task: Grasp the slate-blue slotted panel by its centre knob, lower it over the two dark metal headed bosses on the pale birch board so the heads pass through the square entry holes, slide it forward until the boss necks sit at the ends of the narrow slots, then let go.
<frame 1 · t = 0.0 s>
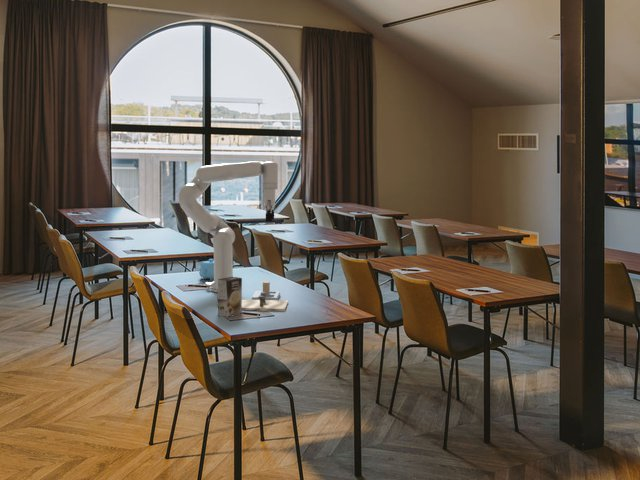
hand: (270, 220, 357), 37 cm above the table, tool pointing down, fingers open, 9 cm apart
coffee box: (229, 314, 309), on the table
panel: (266, 298, 345), on the table
teapot: (212, 279, 394), on the table
board: (262, 306, 326), on the table
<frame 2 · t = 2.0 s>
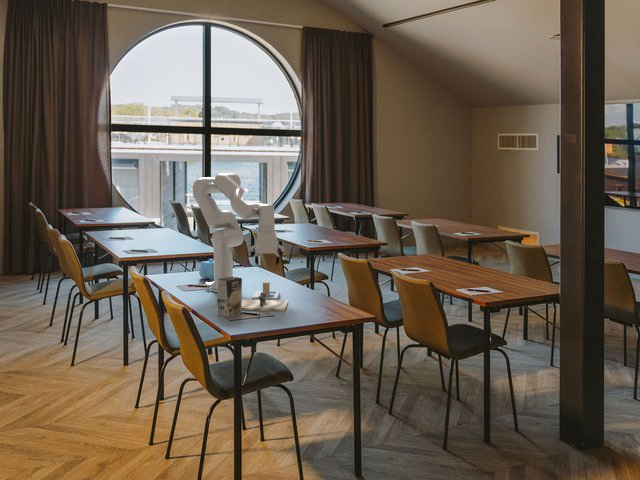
hand: (267, 264, 342), 17 cm above the table, tool pointing down, fingers open, 9 cm apart
nothing on the table moved.
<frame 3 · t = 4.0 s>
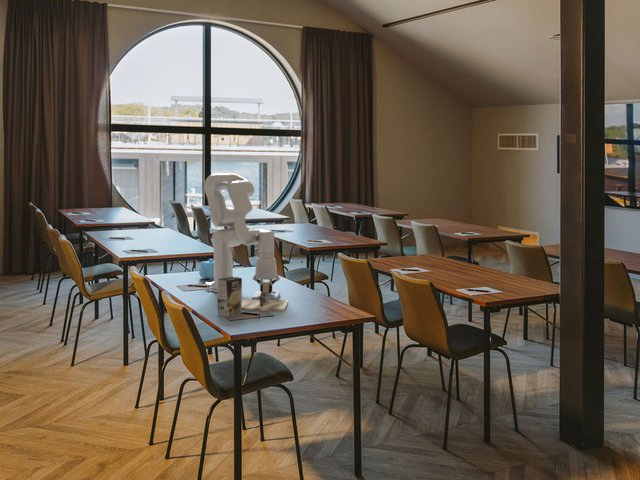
hand: (266, 292, 344), 3 cm above the table, tool pointing down, fingers closed on panel, 3 cm apart
panel: (266, 298, 345), on the table, touching gripper
everything else where it was.
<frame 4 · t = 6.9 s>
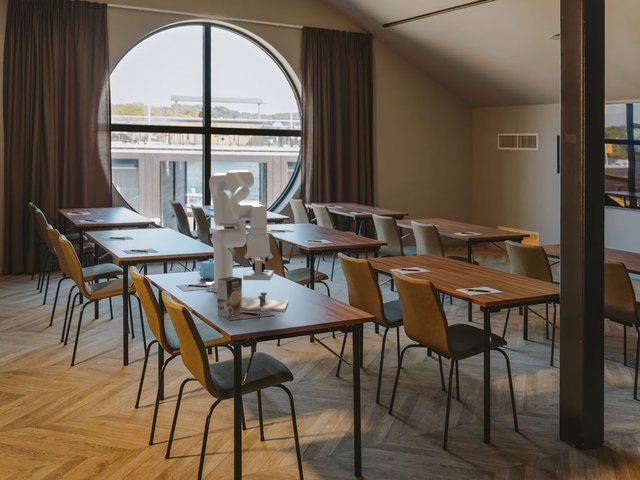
hand: (258, 271, 323), 16 cm above the table, tool pointing down, fingers closed on panel, 3 cm apart
panel: (258, 277, 324), point 14 cm above the table, touching gripper
everything else where it was.
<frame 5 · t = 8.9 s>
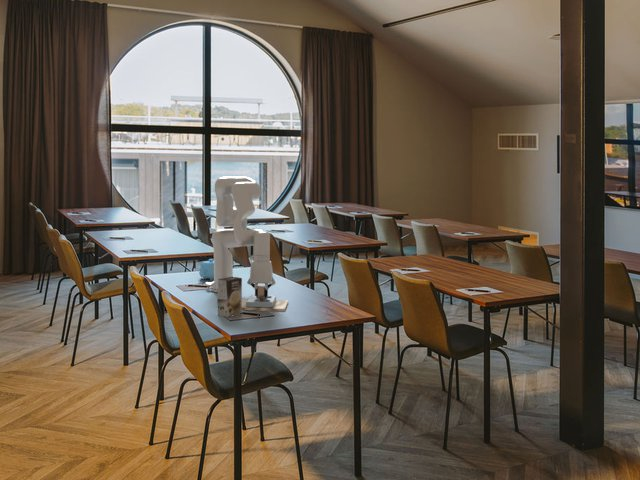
hand: (261, 297, 325), 4 cm above the table, tool pointing down, fingers closed on panel, 3 cm apart
panel: (261, 303, 326), point 2 cm above the table, touching gripper
everything else where it was.
when the fingers open (4 cm above the table, at t = 10.1 s): panel stays where it is, resting on board.
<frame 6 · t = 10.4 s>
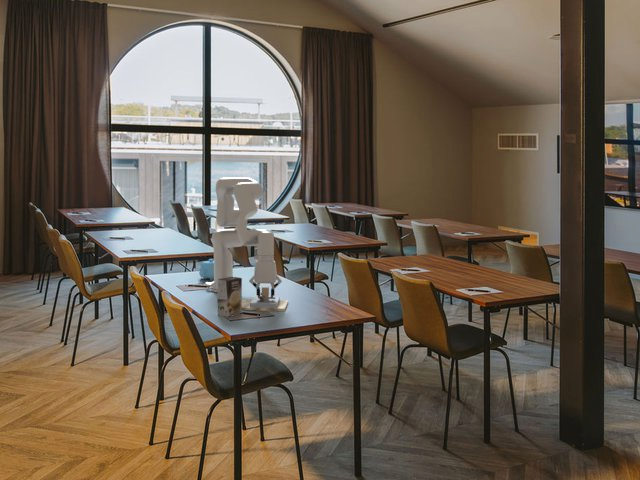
hand: (265, 296, 325), 5 cm above the table, tool pointing down, fingers open, 5 cm apart
panel: (265, 304, 326), point 1 cm above the table, touching board
everything else where it was.
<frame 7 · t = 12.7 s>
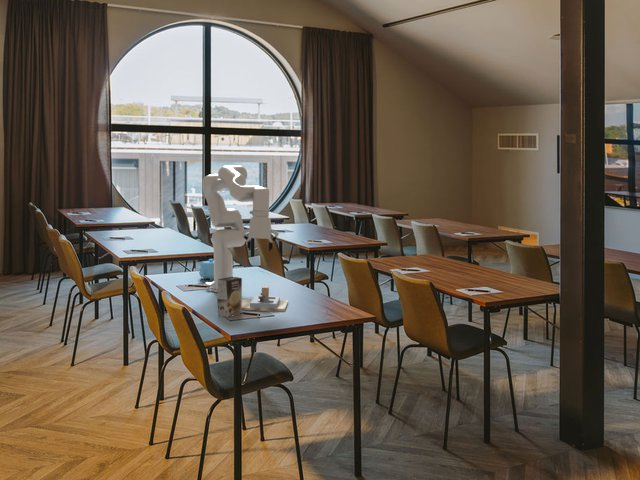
hand: (259, 250, 331), 25 cm above the table, tool pointing down, fingers open, 9 cm apart
nothing on the table moved.
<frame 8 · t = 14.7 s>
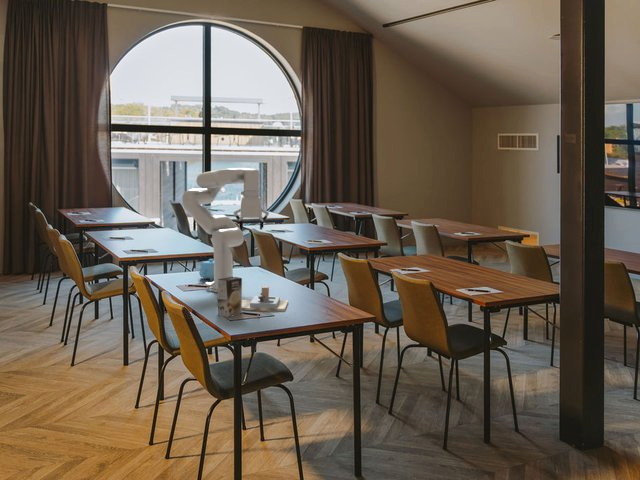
hand: (251, 229, 346), 33 cm above the table, tool pointing down, fingers open, 9 cm apart
nothing on the table moved.
at the end: panel 0.8 cm from the target spot on the board, point 1.2 cm above the board's base; panel tilted 0°; the gripper is holding nothing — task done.
